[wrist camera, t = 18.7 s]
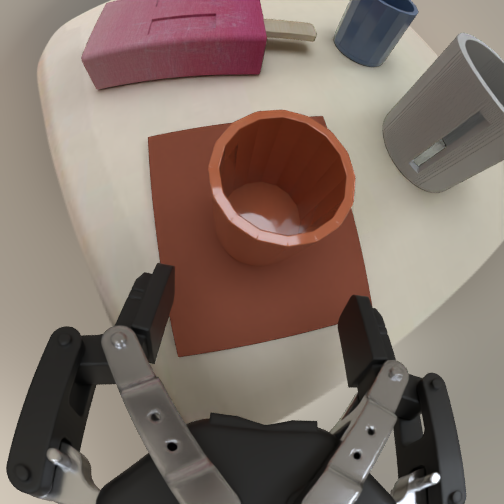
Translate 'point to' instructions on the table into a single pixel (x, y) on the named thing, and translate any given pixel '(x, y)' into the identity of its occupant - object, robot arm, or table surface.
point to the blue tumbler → (373, 29)
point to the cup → (450, 117)
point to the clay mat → (232, 271)
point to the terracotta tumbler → (277, 186)
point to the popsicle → (181, 39)
